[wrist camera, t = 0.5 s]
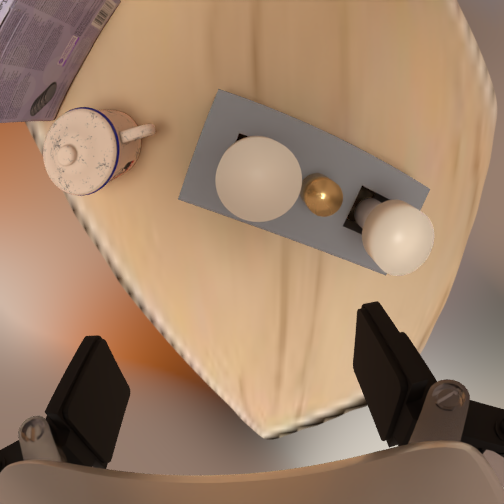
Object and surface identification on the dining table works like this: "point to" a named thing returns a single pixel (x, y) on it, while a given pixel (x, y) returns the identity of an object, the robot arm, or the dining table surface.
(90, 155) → the teacup with lid
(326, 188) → the brass ball
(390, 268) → the ivory knob
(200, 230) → the dining table surface
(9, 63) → the cake pan box
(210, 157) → the mount
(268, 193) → the ivory knob
